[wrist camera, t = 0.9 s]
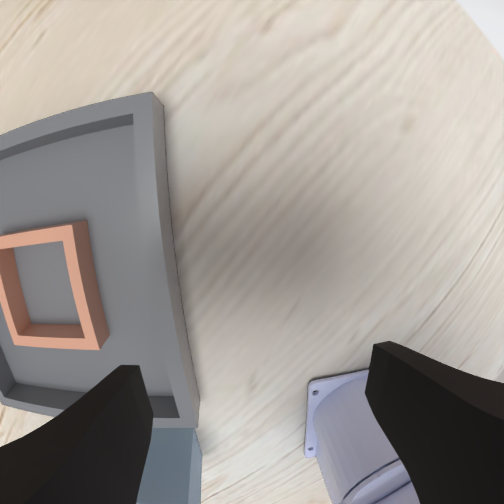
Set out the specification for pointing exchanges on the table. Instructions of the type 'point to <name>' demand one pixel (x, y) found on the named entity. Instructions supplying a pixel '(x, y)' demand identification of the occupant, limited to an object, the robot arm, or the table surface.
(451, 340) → the table surface
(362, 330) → the table surface
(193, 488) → the block
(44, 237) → the gray tray
